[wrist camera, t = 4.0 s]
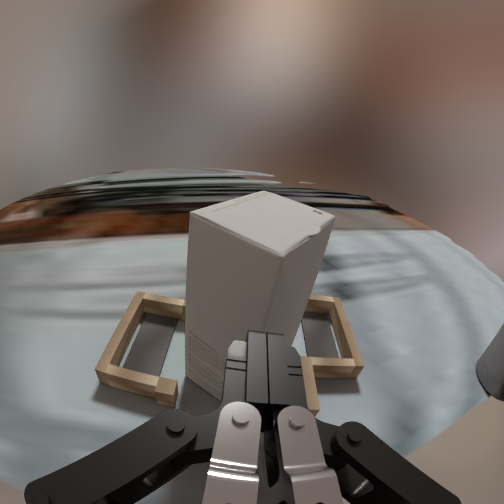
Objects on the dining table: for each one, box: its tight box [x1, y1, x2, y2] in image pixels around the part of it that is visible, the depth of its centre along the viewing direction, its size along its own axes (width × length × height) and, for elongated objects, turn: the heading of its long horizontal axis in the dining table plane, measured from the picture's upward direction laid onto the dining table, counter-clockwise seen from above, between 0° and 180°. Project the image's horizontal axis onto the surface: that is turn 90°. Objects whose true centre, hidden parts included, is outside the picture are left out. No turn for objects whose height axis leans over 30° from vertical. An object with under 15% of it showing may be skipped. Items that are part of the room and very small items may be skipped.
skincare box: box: [185, 191, 335, 401], centre depth 21 cm, size 8×7×16 cm
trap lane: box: [95, 291, 364, 417], centre depth 29 cm, size 24×24×4 cm
